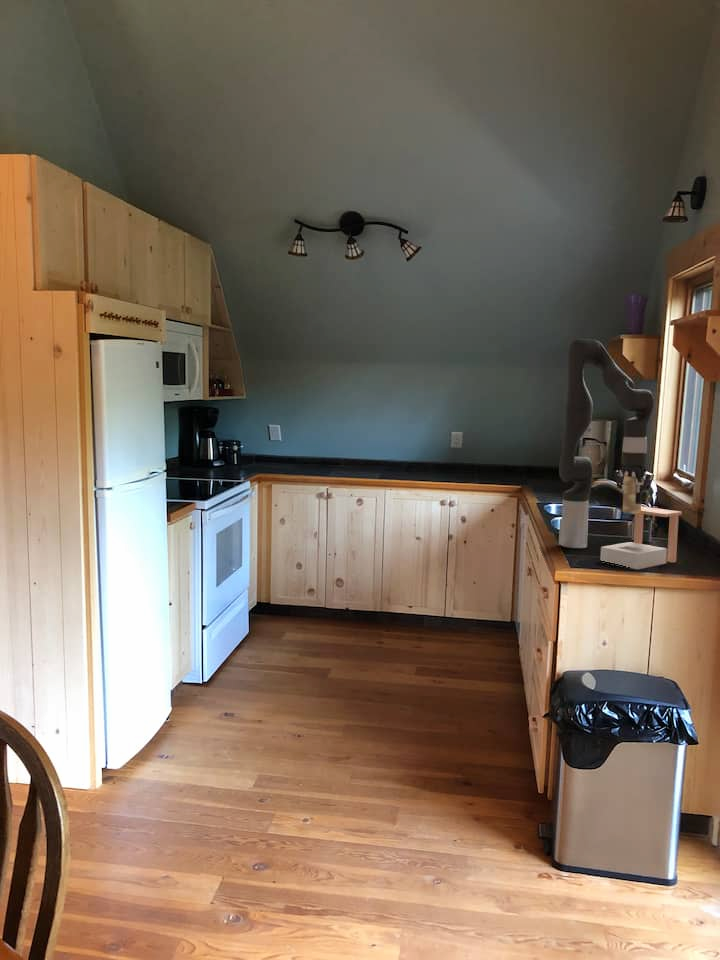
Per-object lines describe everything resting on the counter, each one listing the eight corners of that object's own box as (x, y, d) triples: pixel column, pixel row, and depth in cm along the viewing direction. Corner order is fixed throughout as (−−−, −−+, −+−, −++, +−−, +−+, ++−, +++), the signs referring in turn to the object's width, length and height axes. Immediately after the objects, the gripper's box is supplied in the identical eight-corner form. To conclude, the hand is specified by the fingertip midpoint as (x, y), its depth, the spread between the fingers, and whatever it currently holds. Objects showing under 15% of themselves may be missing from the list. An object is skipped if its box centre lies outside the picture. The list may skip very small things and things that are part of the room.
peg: (622, 512, 242) (624, 476, 241) (629, 511, 245) (631, 475, 243) (633, 513, 239) (634, 477, 238) (640, 512, 241) (642, 476, 240)
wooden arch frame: (620, 556, 254) (622, 508, 252) (636, 553, 259) (639, 505, 258) (662, 565, 241) (665, 514, 239) (679, 561, 246) (681, 511, 245)
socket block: (600, 561, 246) (600, 546, 245) (629, 556, 255) (629, 541, 255) (637, 569, 235) (638, 554, 234) (666, 563, 244) (666, 548, 243)
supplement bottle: (644, 543, 278) (645, 512, 277) (628, 540, 283) (629, 510, 282) (654, 541, 282) (656, 510, 281) (638, 539, 287) (640, 508, 286)
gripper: (608, 450, 243) (606, 501, 245) (647, 452, 232) (644, 506, 234) (622, 449, 248) (620, 499, 250) (661, 451, 236) (658, 504, 238)
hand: (632, 502), depth 242 cm, fingers closed on peg, 4 cm apart
